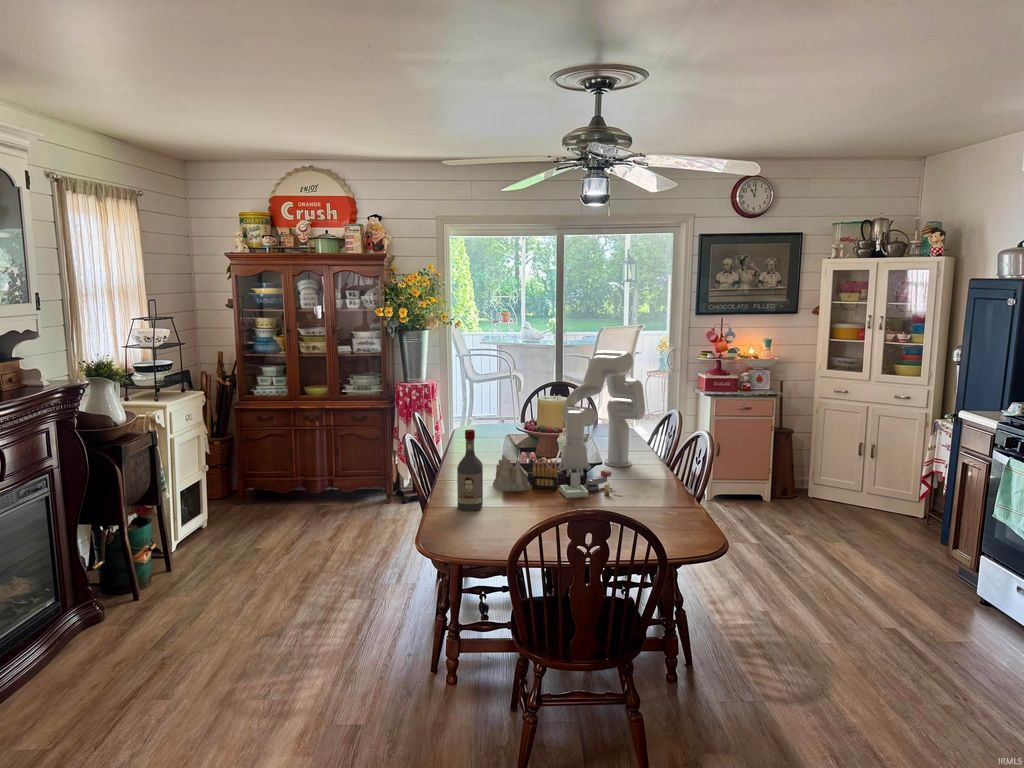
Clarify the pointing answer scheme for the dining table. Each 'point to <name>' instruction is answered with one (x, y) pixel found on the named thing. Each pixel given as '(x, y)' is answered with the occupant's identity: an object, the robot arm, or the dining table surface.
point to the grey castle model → (510, 476)
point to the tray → (573, 492)
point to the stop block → (574, 478)
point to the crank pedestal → (596, 489)
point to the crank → (599, 479)
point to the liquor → (470, 477)
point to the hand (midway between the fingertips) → (573, 484)
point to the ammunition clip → (544, 476)
